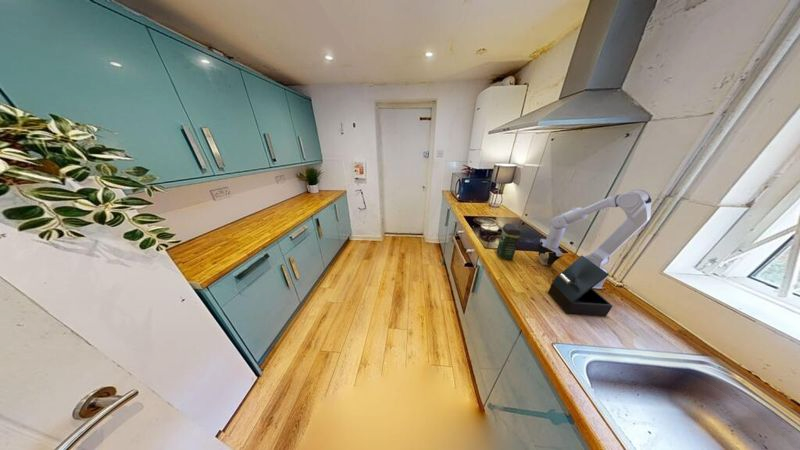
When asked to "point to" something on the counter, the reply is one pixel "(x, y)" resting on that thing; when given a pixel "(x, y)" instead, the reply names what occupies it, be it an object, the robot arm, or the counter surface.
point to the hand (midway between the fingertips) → (545, 260)
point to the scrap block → (543, 258)
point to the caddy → (581, 303)
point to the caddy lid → (579, 278)
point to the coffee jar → (508, 241)
